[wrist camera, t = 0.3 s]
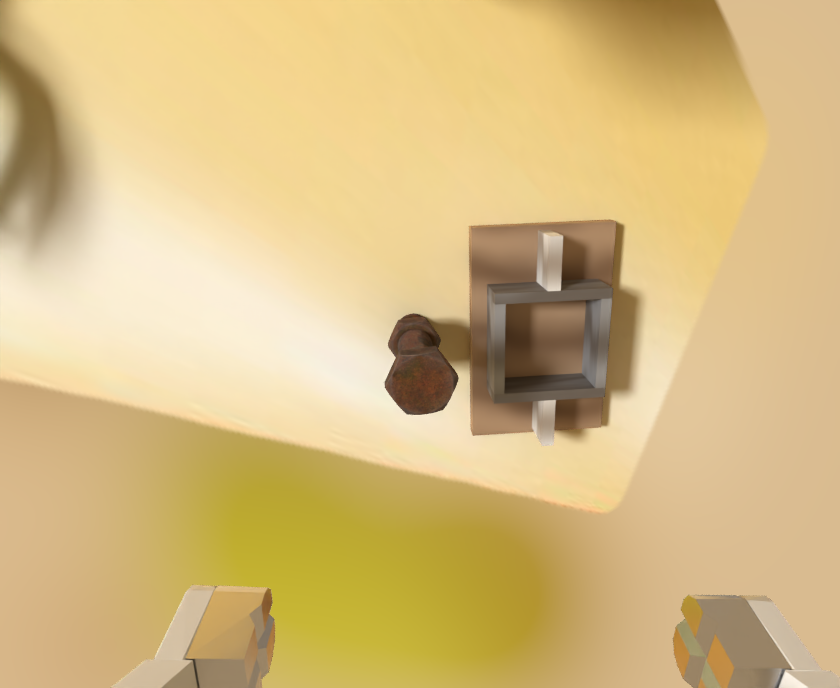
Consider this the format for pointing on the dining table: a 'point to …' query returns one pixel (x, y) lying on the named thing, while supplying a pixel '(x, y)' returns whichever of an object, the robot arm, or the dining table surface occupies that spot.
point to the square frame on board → (539, 325)
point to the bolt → (419, 368)
